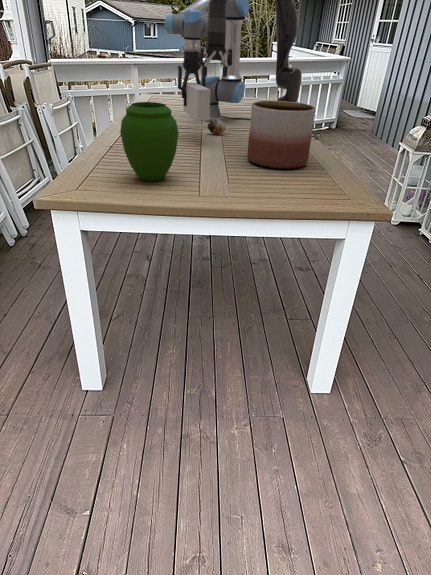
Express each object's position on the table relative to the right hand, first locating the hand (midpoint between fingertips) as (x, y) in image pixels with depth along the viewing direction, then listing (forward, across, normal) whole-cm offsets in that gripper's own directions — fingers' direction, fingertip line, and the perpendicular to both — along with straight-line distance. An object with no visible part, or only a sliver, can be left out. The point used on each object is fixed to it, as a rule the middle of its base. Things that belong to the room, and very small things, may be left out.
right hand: (214, 76), depth 171 cm
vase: (+30, -37, -35) cm, 59 cm away
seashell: (+30, +14, +29) cm, 44 cm away
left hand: (+15, -1, +26) cm, 30 cm away
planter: (+30, +19, -26) cm, 44 cm away
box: (+18, -1, +18) cm, 26 cm away
